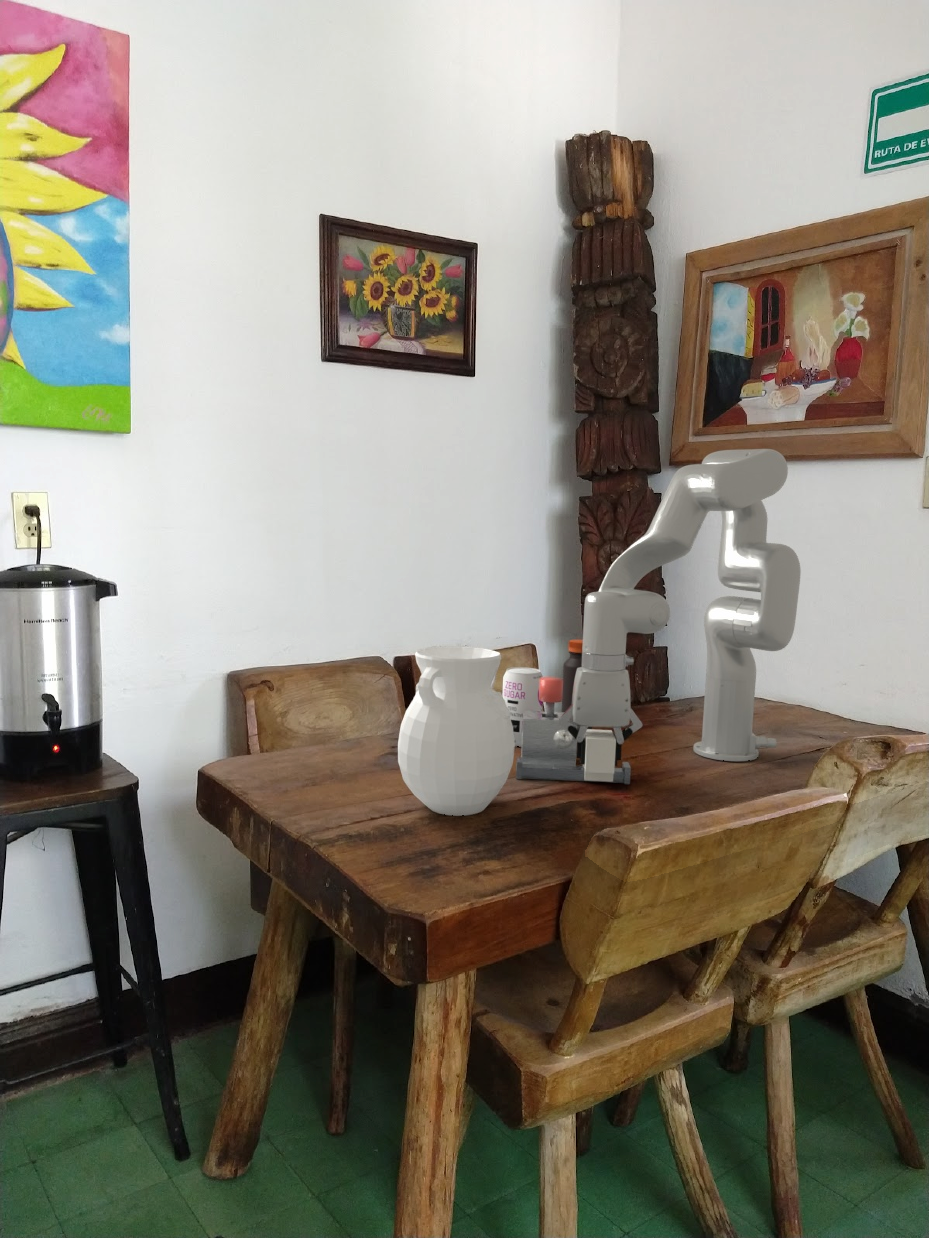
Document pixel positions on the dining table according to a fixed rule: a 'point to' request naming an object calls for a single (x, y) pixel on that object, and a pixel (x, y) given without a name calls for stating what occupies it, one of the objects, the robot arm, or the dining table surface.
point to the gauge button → (550, 693)
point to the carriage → (599, 755)
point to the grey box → (547, 740)
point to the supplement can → (521, 696)
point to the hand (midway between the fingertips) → (598, 762)
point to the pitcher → (456, 731)
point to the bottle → (571, 673)
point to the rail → (565, 772)
